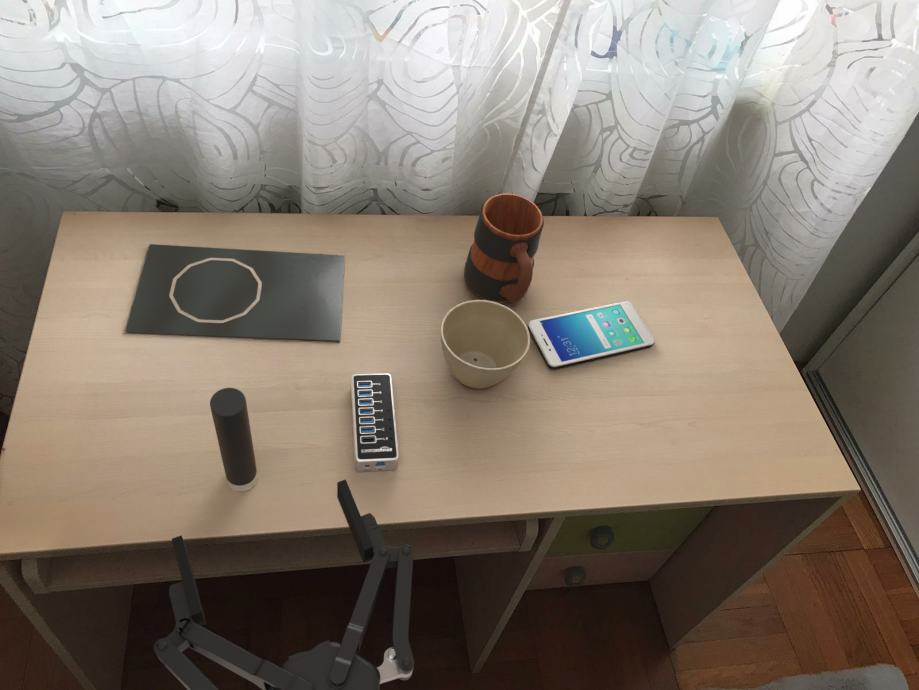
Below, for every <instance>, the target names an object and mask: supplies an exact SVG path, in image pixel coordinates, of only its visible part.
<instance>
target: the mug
mask: <svg viewBox="0 0 919 690" xmlns="http://www.w3.org/2000/svg"><path fill="white" fill-rule="evenodd" d="M479 210H480V211H479V215H478V218H477V222H476V225H475V228H474V233H473V242H472V244H471V246H470V248H469V250H468V253H467V256H466V261H465V264H464V271H463V272H464V273H463V277H464V280H465V282H466V285H467V286H468V288H469V289H470V290H471V291H472V293H473V294H475V295H476V296H477V297H478V298H480V299H481V300H487V301H492V302H496V303H499V304H505V303H509V302H511V303H517V302H520V301H521V300H522V299H523V298H524V297H525V296H526V294H527V292H528V290H529V288H530V286H531V283H532V279H533V276H534V275H533V274H534V267H535V255H536V254H537V252H538V249H539V246H540V241H541V236H542V232H543V229H544V224H545V220H544V216H543V213H542V211H541V209H540V208H539V207H538V206H537V205H536V204H535V203H534V202H533V201H531V200H530V199H528V198H526V197H524V196H523V195H522V196H521V195H519V194H514V193H499V194H496V195H495V194H494V195H493V196H491V197H489V198H488V199H486V200H485V201H484V202H483V204H482V205H481V207H480V209H479Z"/></svg>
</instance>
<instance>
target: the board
mask: <svg viewBox="0 0 919 690" xmlns="http://www.w3.org/2000/svg"><path fill="white" fill-rule="evenodd" d="M345 257H346V255H343V254H328V253H327V254H326V253H311V252H310V253H307V252H290V251H277V250H276V251H275V250H274V251H273V250H259V249H258V250H255V249H239V248H223V247H208V246H207V247H205V246H189V245H172V244H153V243H149V245H148V249H147V252H146V256H145V259H144V262H143V267H142V270H141V273H140V277H139V279H138V280H139V281H138V284H137V287H136V291H135V293H134V294H135V295H134V299H133V301H132V305H131V308H130V309H131V310H130V312H129V316H128V320H127V322H126V326H125V330H124V333H125V334H139V335H141V334H142V335H162V336H163V335H164V336H186V337H187V336H188V337H207V338H208V337H210V338H234V339H235V338H236V339H257V340H258V339H260V340H281V341H282V340H284V341H304V342H305V341H307V342H330V343H331V342H332V343H341V330H342V312H343V296H344V295H343V293H344V277H345V276H344V275H345Z"/></svg>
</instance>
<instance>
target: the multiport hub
mask: <svg viewBox="0 0 919 690" xmlns="http://www.w3.org/2000/svg"><path fill="white" fill-rule="evenodd" d="M392 378H393V377H392V375H391V373H354V374H352V375H351V378H350V379H351V380H350V381H351V382H350V398H351V416H352V436H353V438H352V439H353V456H354V457H353V458H354V470H355V471H356V472H357V473H370V472H371V473H372V472H387V471H388V472H389V471H396V470H397V469H398V464H399V458H400V455H399V443H398V442H399V441H398V432H397V431H398V430H397V422H396V411H395V399H394V391H393V379H392Z"/></svg>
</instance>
